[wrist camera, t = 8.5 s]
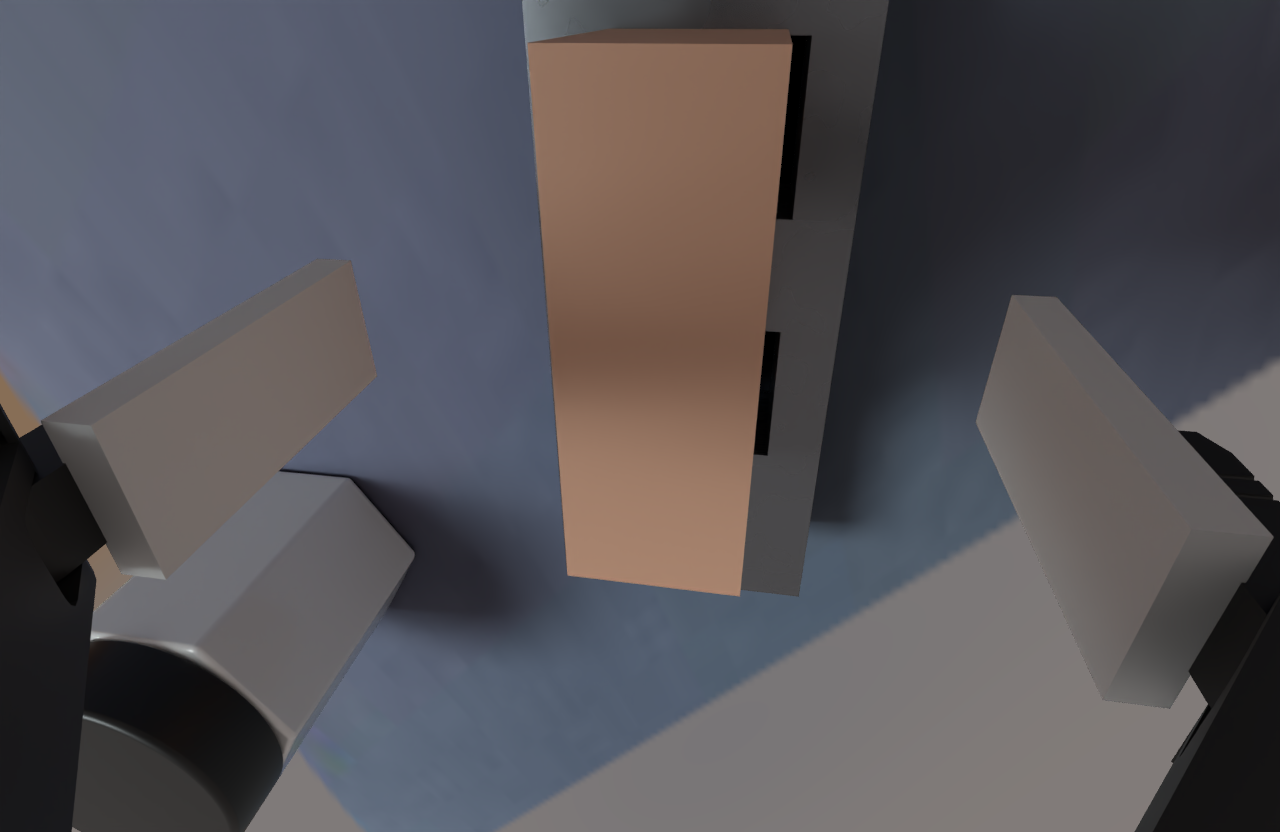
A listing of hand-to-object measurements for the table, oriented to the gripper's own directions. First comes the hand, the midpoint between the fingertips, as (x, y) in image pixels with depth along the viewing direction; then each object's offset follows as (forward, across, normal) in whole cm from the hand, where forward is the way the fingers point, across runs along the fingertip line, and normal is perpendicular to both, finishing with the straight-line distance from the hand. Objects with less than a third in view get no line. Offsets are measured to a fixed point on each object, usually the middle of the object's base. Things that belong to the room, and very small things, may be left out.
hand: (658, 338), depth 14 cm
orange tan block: (+9, 0, 0) cm, 9 cm away
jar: (+9, -16, -15) cm, 24 cm away
